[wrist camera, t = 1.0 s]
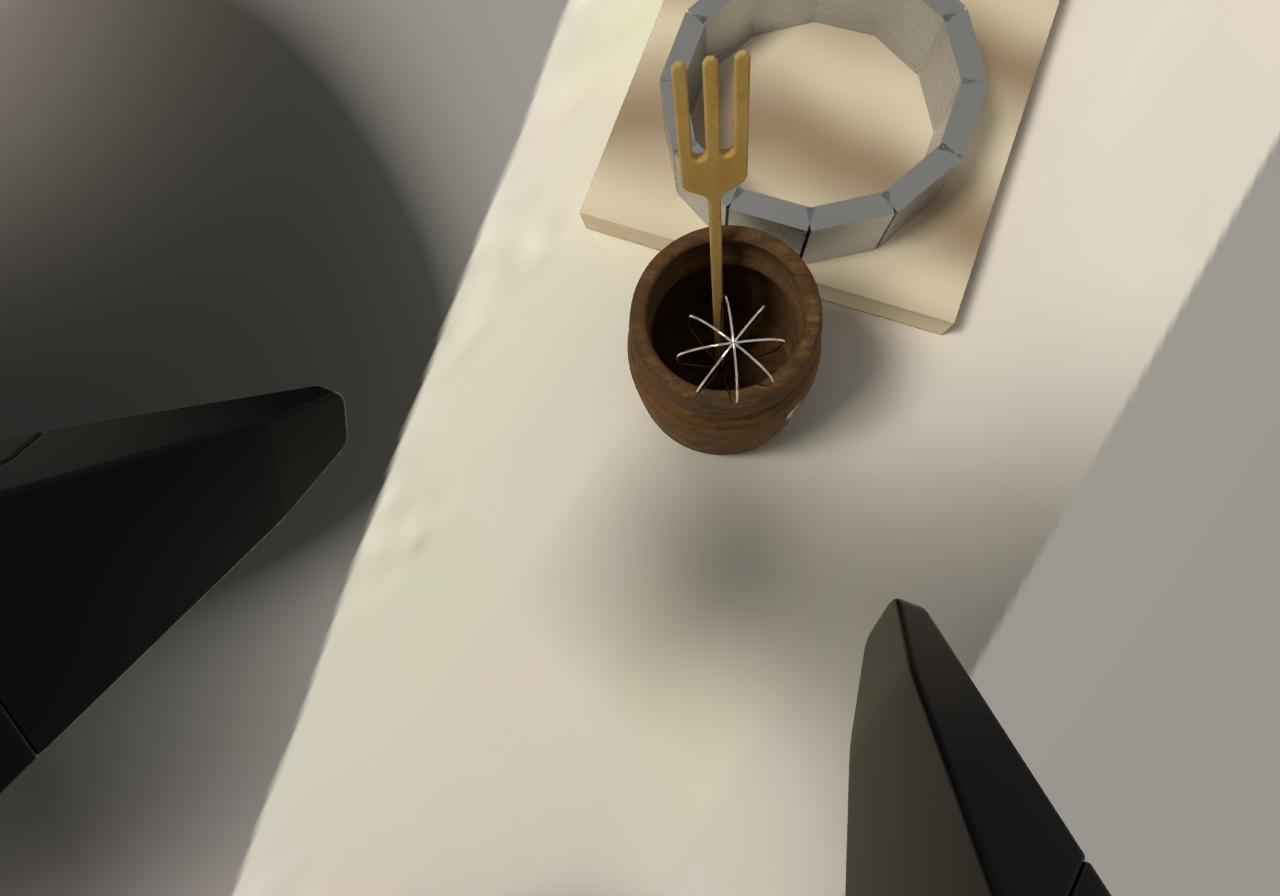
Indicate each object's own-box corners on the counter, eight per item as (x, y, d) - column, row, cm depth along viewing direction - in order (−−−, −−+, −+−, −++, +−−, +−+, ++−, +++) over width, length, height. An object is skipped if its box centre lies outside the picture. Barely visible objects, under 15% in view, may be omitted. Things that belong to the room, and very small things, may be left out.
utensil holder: (650, 468, 23) (585, 394, 11) (633, 307, 24) (557, 80, 12) (812, 450, 22) (926, 351, 10) (788, 285, 23) (869, 25, 11)
